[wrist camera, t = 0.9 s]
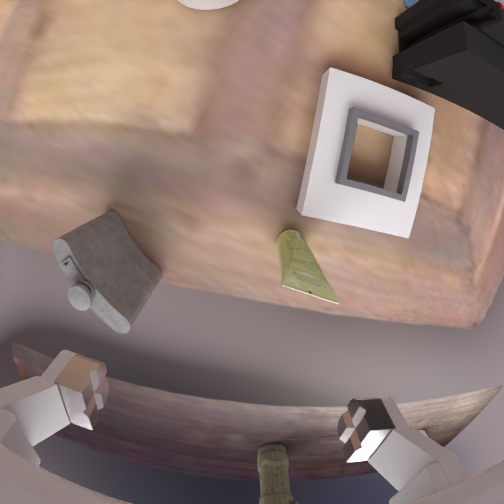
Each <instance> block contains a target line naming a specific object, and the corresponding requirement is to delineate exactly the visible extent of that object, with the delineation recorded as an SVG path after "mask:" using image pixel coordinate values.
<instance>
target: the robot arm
mask: <svg viewBox="0 0 504 504" xmlns="http://www.w3.org/2000/svg"><path fill="white" fill-rule="evenodd" d="M178 1H179V2H180V3H181V4H183V5H185V6H187V7H190V8H194V9H201V10H211V9H218V8H223V7H226V6H229V5H232V4H234V3H236V2H238V1H239V0H178ZM105 374H106V367H105V364H104V363H102V362H99V361H96V360H93V359H90V358H88V357H85V356H82V355H79V354H76V353H73V352H71V351H68V350H63V351H61V352H60V354H59V355H58V356H57V357H56V358H55V360H54V361H53V362H52V363H51V365H50V366H49V367H48V368H47V370H46V371H45V372H44V373H43V375H42V376H41V377H39V376H35V377H32V378H30V379H27V380H24V381H21V382H18V383H15V384H12V385H9V386H6V387H4V388H0V504H132V503H128V502H125V501H121V500H118V499H115V498H112V497H109V496H106V495H103V494H101V493H98V492H95V491H92V490H90V489H87V488H84V487H82V486H80V485H77V484H75V483H73V482H70V481H68V480H66V479H64V478H61V477H59V476H57V475H55V474H53V473H51V472H49V471H47V470H45V469H43V468H41V467H39V464H40V462H41V461H40V458H39V456H38V454H37V453H36V451H35V450H34V448H33V446H34V445H36V444H37V443H39V442H41V441H42V440H44V439H46V438H47V437H49V436H51V435H52V434H54V433H56V432H57V431H59V430H60V429H62V428H64V427H65V426H67V425H69V424H70V422H71V423H74V424H76V425H79V426H82V427H85V428H88V429H90V430H93V428H94V426H95V424H96V422H97V420H98V418H99V413H98V410H99V409H101V408H103V407H104V405H105V403H106V401H107V397H108V389H109V387H108V381H107V380H106V379H105V378H104V376H105ZM347 407H348V411H346V412H345V413H344V414H342V416H341V418H340V420H339V423H338V435H339V438H340V439H341V440H342V441H343V442H344V443H345V444H344V446H343V451H344V455H345V458H346V461H347V462H356V461H367V460H368V462H369V463H370V464H371V465H372V466H373V467H374V468H375V469H376V470H377V471H378V472H379V473H380V474H381V475H382V476H383V477H384V478H386V480H387V481H389V482H390V483H391V484H392V485H393V486H394V487H395V488H396V489H397V490H398V491H399V492H398V493H397V494H395V495H394V496H393V497H392V498H391V499H390V500H389V504H504V460H503V461H501V462H500V463H498V464H496V465H494V466H492V467H491V468H488V469H487V470H485V471H483V472H481V473H479V474H477V475H475V476H473V477H470V478H468V476H467V474H466V472H465V470H464V469H463V467H462V465H461V463H460V461H459V460H458V458H457V456H456V455H455V454H453V453H452V452H450V451H448V450H447V449H445V448H444V447H442V446H441V445H439V444H437V443H436V442H434V441H433V440H431V439H430V438H428V437H427V436H425V435H423V434H422V433H420V432H419V431H417V430H416V429H414V428H413V427H408V426H407V424H406V422H405V420H404V418H403V416H402V414H401V413H400V411H399V409H398V407H397V405H396V404H395V402H394V400H393V399H392V398H391V397H378V398H353V399H352V400H350V402H349V403H348V405H347Z"/></svg>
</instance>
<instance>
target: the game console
mask: <svg viewBox="0 0 504 504" xmlns="http://www.w3.org/2000/svg"><path fill="white" fill-rule="evenodd" d="M405 6H406V7H408V9H407V10H406V11H404V12H403V13H402V14H400V15H399V16H398V17H396V18H395V29H396V30H398V37H399V53H398V54H397V55H395V56H393V72H392V79H395V80H398V81H401V82H403V83H406V84H409V85H412V86H414V87H417V88H420V89H422V90H425V91H427V92H430V93H432V94H435V95H437V96H439V97H442V98H444V99H446V100H448V101H450V102H453V103H455V104H457V105H459V106H461V107H463V108H465V109H467V110H469V111H471V112H473V113H475V114H477V115H479V116H481V117H483V118H484V119H486V120H488V121H490V122H492V123H493V124H495V125H497V126H499V127H500V128H502V129H504V6H503V5H502V4H501V3H499V2H495V1H494V0H405Z"/></svg>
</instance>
